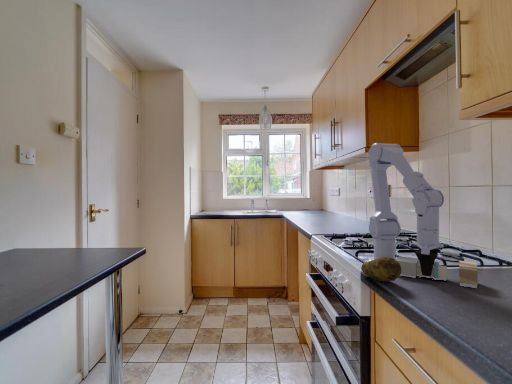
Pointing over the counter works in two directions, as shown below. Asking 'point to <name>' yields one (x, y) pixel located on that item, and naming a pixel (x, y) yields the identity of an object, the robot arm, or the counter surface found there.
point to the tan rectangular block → (468, 272)
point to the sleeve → (408, 265)
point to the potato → (382, 269)
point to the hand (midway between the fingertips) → (427, 273)
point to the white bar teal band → (435, 271)
